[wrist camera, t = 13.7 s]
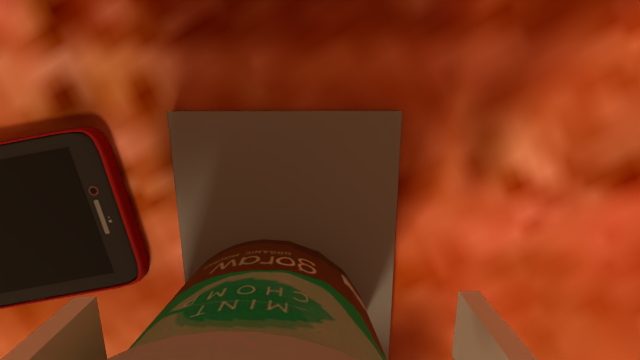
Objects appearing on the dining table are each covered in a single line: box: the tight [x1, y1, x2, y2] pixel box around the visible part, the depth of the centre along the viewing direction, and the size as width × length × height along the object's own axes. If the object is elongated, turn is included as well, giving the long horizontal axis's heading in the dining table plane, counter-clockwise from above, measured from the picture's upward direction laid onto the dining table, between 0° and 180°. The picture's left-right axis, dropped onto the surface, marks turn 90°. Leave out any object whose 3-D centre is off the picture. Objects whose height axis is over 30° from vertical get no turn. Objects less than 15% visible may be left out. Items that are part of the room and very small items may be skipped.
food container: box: [106, 239, 387, 360], centre depth 12 cm, size 12×6×10 cm, turn 101°
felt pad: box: [167, 111, 402, 360], centre depth 17 cm, size 10×15×1 cm, turn 0°
